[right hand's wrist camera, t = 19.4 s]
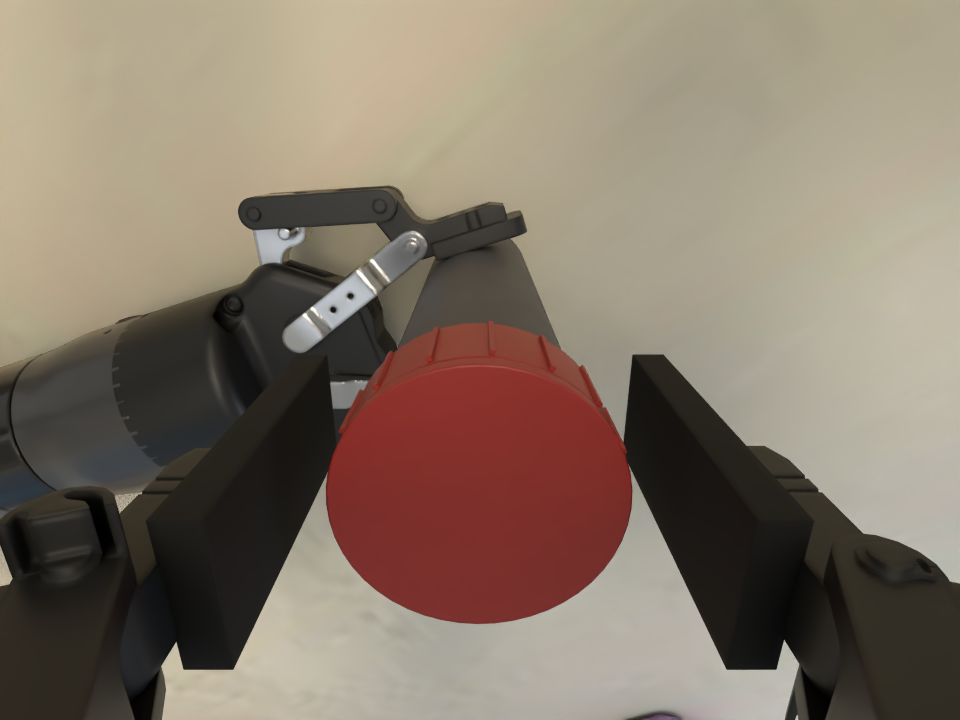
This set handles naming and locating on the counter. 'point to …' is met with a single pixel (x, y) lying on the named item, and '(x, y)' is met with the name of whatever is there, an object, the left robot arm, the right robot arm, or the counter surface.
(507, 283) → the grey cylinder
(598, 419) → the lid
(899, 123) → the counter surface
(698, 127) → the counter surface
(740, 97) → the counter surface
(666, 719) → the figurine
